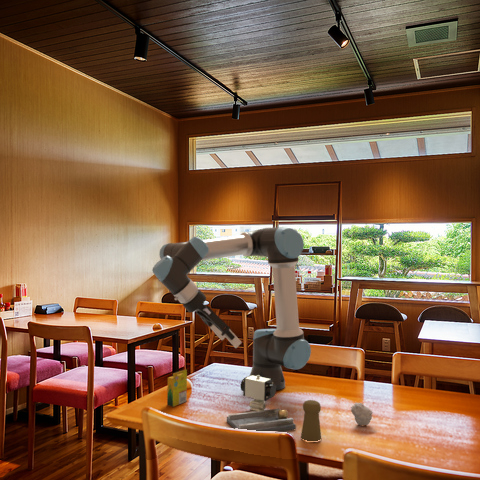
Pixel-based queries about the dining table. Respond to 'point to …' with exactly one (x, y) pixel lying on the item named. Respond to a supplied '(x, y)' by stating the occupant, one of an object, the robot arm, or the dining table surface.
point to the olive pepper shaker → (311, 421)
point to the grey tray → (262, 420)
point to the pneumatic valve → (258, 391)
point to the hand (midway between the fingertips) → (231, 341)
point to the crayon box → (177, 388)
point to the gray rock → (361, 414)
